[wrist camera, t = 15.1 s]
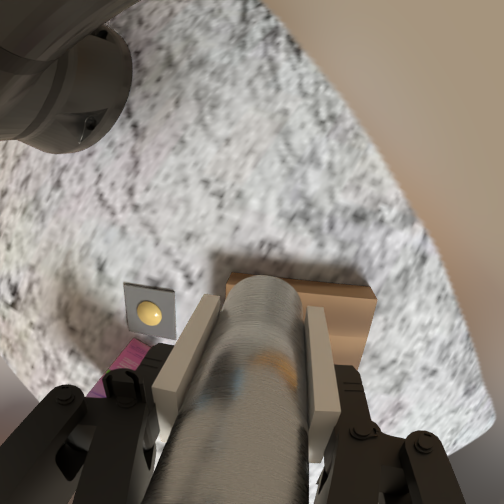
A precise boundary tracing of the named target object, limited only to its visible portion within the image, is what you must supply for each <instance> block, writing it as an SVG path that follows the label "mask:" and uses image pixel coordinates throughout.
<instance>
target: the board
mask: <svg viewBox="0 0 504 504" xmlns="http://www.w3.org/2000/svg"><path fill="white" fill-rule="evenodd" d="M251 276H256V275H252V274H243V273H234V272H232V273H231V275H230V277H229V279H228V281H227V283H226V298H227V296H228V294H229V292H230V290H231V289H232V288H233V287H234V286H235V285H236V284H237V283H238V282H240V281H241V280H243V279H246V278H248V277H251ZM277 278H279V277H277ZM279 279H282V280H284V281H285V282H287V283H288V284H290V285H291V286H292V287H293V288H294V289H295V290H296V292H297V293H298V295H299V297H300V299H301V302H302V306H303V321H305V315H306V309H307V306H314V307H324V313H325V318H326V323H327V329H328V334H329V340H330V345H331V351H332V357H333V363H334V364H337V365H353V366H354V368H355V369H356V370H358V367H359V364H360V361H361V357H362V354H363V351H364V347H365V344H366V341H367V337H368V333H369V330H370V326H371V323H372V319H373V315H374V311H375V307H376V303H377V298H376V296H375V294H374V292H373V291H372V289H371V287H368V286H357V285H347V284H337V283H327V282H317V281H307V280H298V279H288V278H279ZM226 298H225V300H226Z"/></svg>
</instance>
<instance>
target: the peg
mask: <svg viewBox="0 0 504 504" xmlns="http://www.w3.org/2000/svg"><path fill="white" fill-rule="evenodd" d="M141 504H309V440H308V402H307V376H306V355H305V337H304V321H303V306H302V302H301V299H300V297H299V295H298V293H297V292H296V290H295V289H294V288H293V287H292V286H291V285H290V284H288V283H287V282H285V281H284V280H282V279H279V278H277V277H273V276H268V275H256V276H251V277H248V278H246V279H243V280H241V281H240V282H238V283H237V284H236V285H235V286H234V287H233V288H232V289H231V290H230V292H229V294H228V296H227V298H226V300H225V303H224V305H223V307H222V310H221V312H220V315H219V317H218V319H217V322H216V324H215V326H214V329H213V331H212V334H211V336H210V338H209V341H208V343H207V346H206V348H205V350H204V353H203V355H202V357H201V360H200V362H199V365H198V367H197V369H196V372H195V374H194V377H193V379H192V381H191V384H190V386H189V389H188V391H187V393H186V396H185V398H184V401H183V403H182V405H181V408H180V410H179V413H178V415H177V417H176V420H175V422H174V425H173V427H172V430H171V432H170V434H169V437H168V439H167V442H166V444H165V446H164V449H163V451H162V454H161V456H160V459H159V461H158V463H157V466H156V468H155V471H154V473H153V476H152V478H151V480H150V483H149V485H148V488H147V490H146V493H145V495H144V498H143V500H142V502H141Z"/></svg>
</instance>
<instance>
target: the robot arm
mask: <svg viewBox="0 0 504 504" xmlns="http://www.w3.org/2000/svg"><path fill="white" fill-rule="evenodd" d="M139 1H140V0H0V141H5V140H18V141H21V142H23V143H25V144H27V145H30V146H32V147H34V148H36V149H39V150H41V151H43V152H46V153H51V154H66V153H75V152H79V151H82V150H85V149H87V148H89V147H90V146H92V145H94V144H95V143H96V142H98V141H99V140H100V139H101V138H102V137H104V136H105V134H106V133H107V132H108V131H109V130H110V129H111V128H112V126H113V125H114V124H115V122H116V121H117V119H118V117H119V116H120V114H121V112H122V110H123V108H124V106H125V103H126V101H127V98H128V95H129V91H130V87H131V81H132V59H131V55H130V51H129V49H128V46H127V45H126V43H125V41H124V40H123V38H122V37H121V36H120V35H119V34H118V33H116V32H115V31H113V30H112V29H110V28H108V27H106V26H104V25H103V24H104V23H106V22H107V21H109V20H110V19H112V18H113V17H115V16H116V15H118V14H119V13H121V12H122V11H124V10H126V9H127V8H129V7H130V6H132V5H134V4H135V3H137V2H139ZM219 315H220V296H216V295H209V294H204V295H203V297H202V299H201V300H200V302H199V304H198V306H197V307H196V309H195V311H194V313H193V314H192V316H191V318H190V320H189V321H188V323H187V325H186V327H185V328H184V330H183V332H182V334H181V335H180V337H179V339H178V341H177V342H176V344H175V346H174V345H168V344H163V343H158V344H156V345H155V346H153V347H152V348H150V349H149V351H148V352H147V354H146V355H145V357H144V358H143V360H142V361H141V363H140V365H139V366H138V367H137V369H136V370H132V369H128V368H118V369H114V370H111V371H109V372H108V373H106V374H105V375H104V376H103V378H102V382H103V386H104V390H105V394H106V398H94V397H84V394H83V392H82V391H81V389H80V388H78V387H76V386H73V385H61V386H58V387H55V388H54V389H53V390H51V391H50V392H49V393H48V394H47V395H46V396H45V398H44V399H43V400H42V401H41V402H40V403H39V404H38V405H37V406H36V407H35V408H34V409H33V411H32V412H31V413H30V414H29V415H28V416H27V417H26V418H25V419H24V420H23V422H22V423H21V424H20V425H19V426H18V427H17V428H16V429H15V430H14V432H13V433H12V434H11V435H10V436H9V437H8V438H7V439H6V441H5V442H4V443H3V444H2V445H1V446H0V504H67V503H68V502H69V500H70V499H71V497H72V495H73V494H74V492H75V491H76V493H75V496H74V500H73V503H72V504H141V502H142V500H143V498H144V495H145V493H146V490H147V488H148V485H149V483H150V480H151V478H152V476H153V471H154V464H155V457H156V444H155V441H156V439H157V437H158V434H159V433H160V438H161V441H162V442H167V439H168V437H169V434H170V432H171V430H172V427H173V425H174V422H175V420H176V417H177V415H178V413H179V410H180V408H181V405H182V403H183V401H184V398H185V396H186V393H187V391H188V389H189V386H190V384H191V381H192V379H193V377H194V374H195V372H196V369H197V367H198V365H199V362H200V360H201V357H202V355H203V353H204V350H205V348H206V346H207V343H208V341H209V338H210V336H211V334H212V331H213V329H214V326H215V324H216V322H217V319H218V317H219ZM304 337H305V355H306V376H307V402H308V440H309V463H321V461H322V459H323V456H324V464H325V466H324V468H323V470H322V472H321V475H320V477H319V479H318V481H317V483H316V484H318V489H317V493H316V497H315V501H314V504H378V502H379V504H466V503H465V500H464V497H463V494H462V492H461V489H460V487H459V484H458V481H457V479H456V476H455V474H454V471H453V469H452V467H451V464H450V462H449V459H448V457H447V454H446V452H445V450H444V447H443V445H442V443H441V441H440V440H439V438H438V437H437V436H435V435H434V434H433V433H430V432H428V431H419V430H418V431H415V432H412V433H411V434H409V435H408V436H407V438H406V439H404V438H399V437H394V436H390V435H387V434H384V433H382V432H381V430H380V428H379V427H378V425H377V424H376V423H374V422H373V421H371V417H370V413H369V409H368V405H367V400H366V396H365V392H364V388H363V385H362V380H361V376H360V373H359V372H358V371H357V370H356V369H355V368H354V366H353V365H337V364H334V363H333V357H332V351H331V345H330V340H329V334H328V329H327V323H326V318H325V313H324V307H314V306H307V309H306V315H305V321H304Z"/></svg>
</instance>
